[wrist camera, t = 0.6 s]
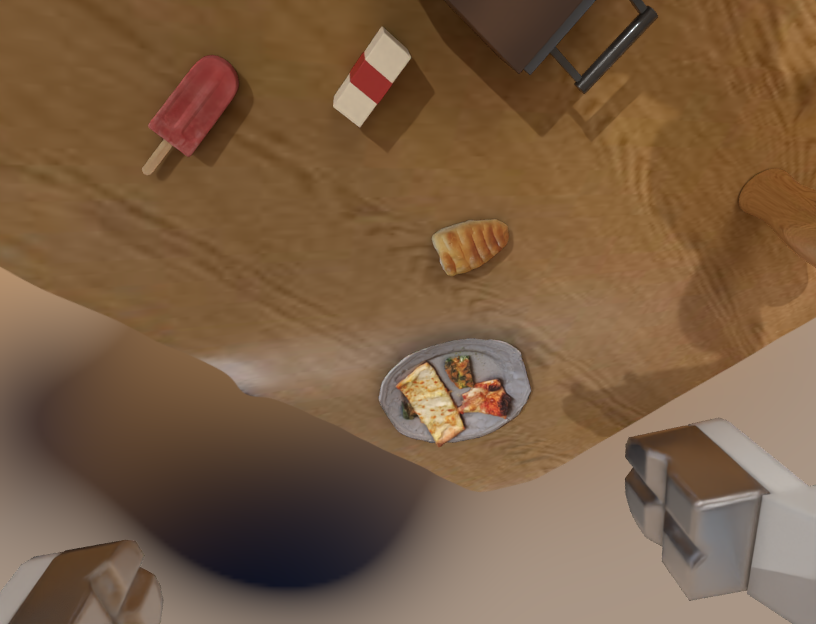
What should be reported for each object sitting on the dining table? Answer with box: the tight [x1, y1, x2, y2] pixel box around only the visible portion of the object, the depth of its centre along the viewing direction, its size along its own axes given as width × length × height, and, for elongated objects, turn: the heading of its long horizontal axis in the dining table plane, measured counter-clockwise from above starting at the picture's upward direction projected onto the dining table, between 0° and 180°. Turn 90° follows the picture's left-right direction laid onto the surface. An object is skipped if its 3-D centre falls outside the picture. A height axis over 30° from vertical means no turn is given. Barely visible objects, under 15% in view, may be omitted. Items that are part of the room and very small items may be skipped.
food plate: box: [379, 338, 531, 447], centre depth 77 cm, size 25×23×4 cm
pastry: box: [432, 219, 509, 276], centre depth 59 cm, size 9×7×4 cm
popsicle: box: [142, 55, 239, 175], centre depth 48 cm, size 4×2×15 cm
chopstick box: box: [333, 26, 411, 127], centre depth 46 cm, size 8×3×4 cm, turn 140°
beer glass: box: [739, 168, 816, 268], centre depth 54 cm, size 7×7×15 cm
